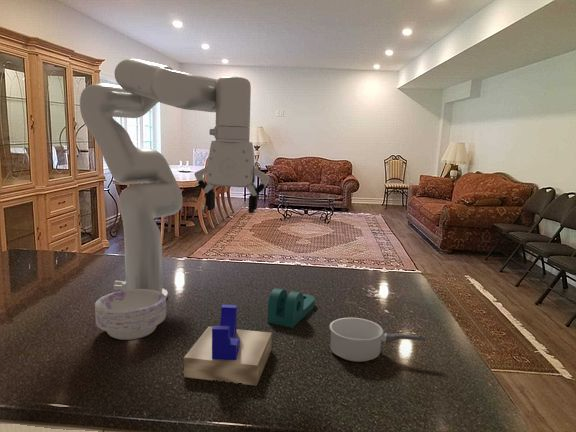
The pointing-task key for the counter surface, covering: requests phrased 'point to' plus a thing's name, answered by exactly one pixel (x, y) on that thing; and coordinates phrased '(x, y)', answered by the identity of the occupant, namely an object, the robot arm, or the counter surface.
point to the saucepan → (361, 338)
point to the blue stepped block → (226, 335)
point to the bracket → (288, 307)
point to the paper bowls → (130, 313)
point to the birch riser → (237, 371)
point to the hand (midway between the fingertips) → (231, 211)
